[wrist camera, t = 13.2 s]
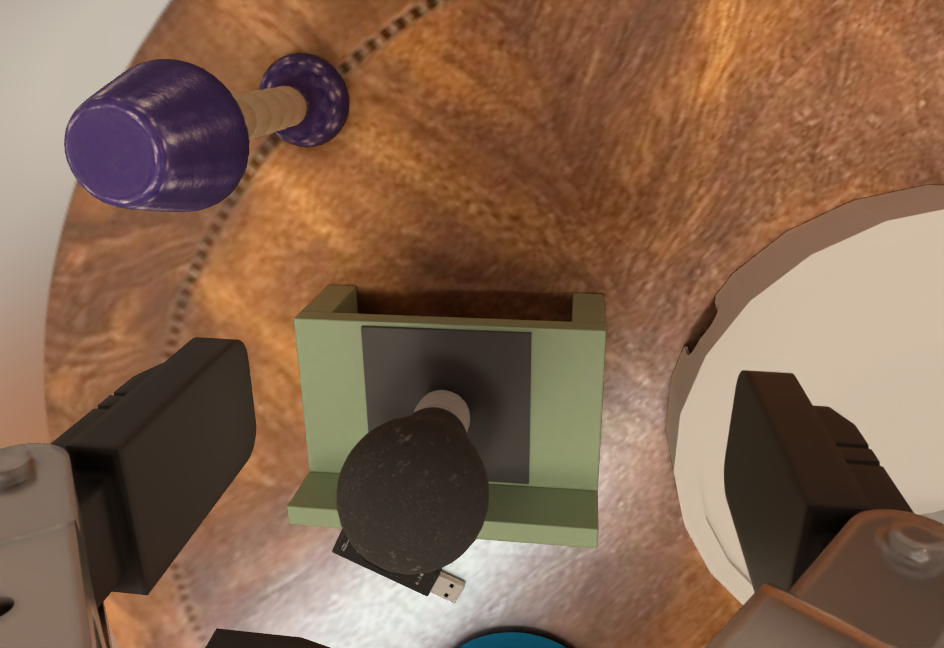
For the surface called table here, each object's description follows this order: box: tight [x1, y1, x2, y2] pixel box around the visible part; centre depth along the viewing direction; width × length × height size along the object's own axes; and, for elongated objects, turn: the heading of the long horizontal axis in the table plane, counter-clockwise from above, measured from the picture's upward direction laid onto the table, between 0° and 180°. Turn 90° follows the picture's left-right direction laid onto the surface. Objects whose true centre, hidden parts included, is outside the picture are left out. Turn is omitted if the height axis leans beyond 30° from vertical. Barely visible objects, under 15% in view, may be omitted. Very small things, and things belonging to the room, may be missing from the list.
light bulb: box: [336, 390, 489, 575], centre depth 30 cm, size 6×6×10 cm
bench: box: [287, 285, 606, 548], centre depth 36 cm, size 14×9×8 cm, turn 91°
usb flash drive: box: [332, 529, 465, 603], centre depth 44 cm, size 8×2×1 cm, turn 65°
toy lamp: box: [64, 53, 349, 212], centre depth 28 cm, size 5×5×17 cm
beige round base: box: [665, 185, 944, 605], centre depth 35 cm, size 23×23×4 cm
